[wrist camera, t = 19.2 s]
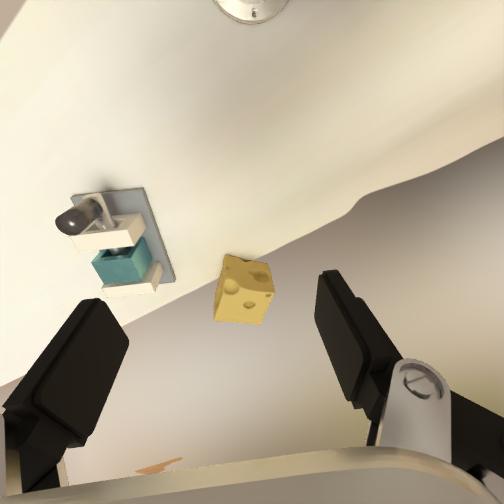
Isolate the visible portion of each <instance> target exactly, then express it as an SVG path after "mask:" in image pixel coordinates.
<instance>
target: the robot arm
mask: <svg viewBox="0 0 504 504" xmlns="http://www.w3.org/2000/svg"><path fill="white" fill-rule="evenodd" d="M213 1H214V2H215V4H216V5H217V6H218V7H219V8H220V10H222V11H223V12H224V13H225V14H226V15H227V16H229V17H230V18H232V19H234V20H236V21H238V22H241V23H246V24H258V23H261V22H264V21H267V20H269V19H270V18H272V17H274V16H275V15H276V14H277V13H278V12H279V11H280V10H281V9H283V7H284V6H285V4H286V3H287V2H288V0H213ZM252 13H255V14H256V17H253V16H252ZM314 318H315V322H316V325H317V328H318V330H319V333H320V335H321V337H322V340H323V343H324V345H325V348H326V350H327V353H328V356H329V358H330V361H331V363H332V366H333V368H334V371H335V373H336V375H337V378H338V381H339V383H340V386H341V388H342V391H343V393H344V396H345V398H346V400H347V401H351V402H352V404H353V407H354V409H361V408H363V409H364V412H365V414H366V416H367V418H368V419H369V420H370V421H369V426H368V430H367V434H366V438H365V443H364V447H349V448H341V449H333V450H324V451H315V452H306V453H298V454H291V455H284V456H277V457H270V458H262V459H255V460H247V461H241V462H233V463H226V464H219V465H211V466H205V467H197V468H190V469H183V470H176V471H169V472H162V473H155V474H148V475H141V476H134V477H128V478H120V479H113V480H106V481H100V482H93V483H86V484H79V485H73V486H69V482H68V477H67V473H66V468H65V463H64V458H63V455H64V452H65V450H66V448H76V447H83V446H84V445H85V443H86V441H87V438H88V436H90V435H91V434H92V433H93V431H94V429H95V427H96V424H97V422H98V419H99V417H100V414H101V412H102V409H103V407H104V405H105V402H106V400H107V397H108V395H109V393H110V390H111V388H112V385H113V383H114V380H115V378H116V376H117V373H118V370H119V368H120V366H121V363H122V361H123V358H124V356H125V354H126V351H127V349H128V346H129V339H128V337H127V336H126V334H125V333H124V331H123V329H122V328H121V326H120V325H119V323H118V321H117V320H116V318H115V317H114V315H113V314H112V312H111V310H110V309H109V307H108V306H107V304H106V303H105V302H104V301H102V300H101V299H99V298H94V299H85V300H82V301H81V302H80V303H79V304H78V305H77V307H76V308H75V309H74V311H73V312H72V313H71V315H70V316H69V317H68V319H67V320H66V321H65V323H64V324H63V325H62V327H61V328H60V329H59V331H58V332H57V333H56V335H55V336H54V338H53V339H52V340H51V342H50V343H49V344H48V346H47V347H46V348H45V350H44V351H43V352H42V354H41V355H40V356H39V358H38V359H37V360H36V362H35V363H34V364H33V366H32V367H31V368H30V370H29V371H28V372H27V374H26V375H25V377H24V378H23V379H22V381H21V382H20V383H19V385H18V386H17V387H16V389H15V390H14V391H13V392H12V394H11V395H10V396H9V398H8V399H7V401H6V402H5V403H4V404H3V406H2V407H4V408H5V409H6V410H5V412H4V413H3V414H2V415H1V414H0V504H504V418H503V417H501V416H499V415H497V414H495V413H493V412H491V411H489V410H488V409H486V408H484V407H482V406H480V405H478V404H476V403H474V402H472V401H470V400H468V399H466V398H464V397H463V396H461V395H459V394H457V393H455V392H453V391H451V390H450V388H449V386H448V384H447V382H446V380H445V379H444V378H443V377H442V376H441V374H440V373H439V372H438V371H436V370H435V369H434V368H433V367H431V366H430V365H428V364H426V363H424V362H422V361H419V360H416V359H409V358H407V359H403V357H402V356H401V354H400V353H399V352H398V350H397V349H396V347H395V346H394V344H393V343H392V341H391V340H390V338H389V337H388V335H387V334H386V333H385V331H384V330H383V328H382V327H381V325H380V324H379V322H378V321H377V319H376V318H375V316H374V315H373V314H372V312H371V311H370V309H369V308H368V306H367V305H366V303H365V302H364V301H363V299H361V298H359V297H355V295H354V294H353V293H352V291H351V289H350V288H349V286H348V285H347V283H346V282H345V281H344V279H343V277H342V276H341V274H340V273H339V271H338V270H328V271H323V273H322V275H319V278H318V287H317V296H316V305H315V314H314Z"/></svg>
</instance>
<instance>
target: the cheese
mask: <svg viewBox="0 0 504 504" xmlns="http://www.w3.org/2000/svg"><path fill="white" fill-rule="evenodd" d="M274 294H275V290H274V285H273V281H272V276H271V272H270V269H269V266H268V265H267V263H261V262H256V261H248V262H244V261H242V259H241V258H237V257H233V256H230V255H225V257H224V261H223V268H222V271H221V275H220V278H219V282H218V285H217V289H216V293H215V300H214V321H223V322H226V321H227V322H241V323H249V324H256V325H260V324H261V322H262V320H263V317H264V315H265V312H266V310H267V308H268V305H269V303H270V301H271V300H272V298H273V296H274Z"/></svg>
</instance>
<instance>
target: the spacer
mask: <svg viewBox="0 0 504 504" xmlns="http://www.w3.org/2000/svg"><path fill="white" fill-rule="evenodd" d="M126 249H127V251H128V255H121V256H112V254H111V252H110V250H109V249H102V250H101V251H100V253H99V254H98V255H97V256H96V257H95V258H94V260H93V261H92V262H91V263H92V265H93V266H94V268H95V270H96V271H97V273H98V275H99V276H100V278H101V280H102V281H103V283H104V285H107V284H116V283H124V282H133V281H141V280H142V279H143V277H144V275H145V273H146V271H147V269H148V267H149V265H150V262H151V260H152V255H151V253H150V250H149V248H148V245H147V243H146V240H145V238H144V237H140V238H139V239H138V241H137V242H136V244H135V245H134V246H129V247H126Z"/></svg>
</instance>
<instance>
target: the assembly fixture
mask: <svg viewBox="0 0 504 504" xmlns="http://www.w3.org/2000/svg"><path fill="white" fill-rule="evenodd" d="M99 193H101V195H102V198H103V200H104V202H105V204H106V206H107V208H108V210H109V212H110V215H111V217H112V219H113V221H114V223H115V225H116V227H117V228H114V229H105V230H99V229H98V227H97V225H96V223H95V221H94V222H93V223H91V224H90V225H89V226H88V227H87V228H86V229H85V230H83V231H82V232H81V233H80V234H79V235H76V236H70V235H69V238H70V239H71V241H72V243H73V244H74V246H75V247H76V249H77V251H78V252H85V251H93V250H99V251H101V250H102V249H111V248H120V247H129V246H134V245H135V244H136V242H137V241H138V239H139V238H140V237H144V238H145V240H146V243H147V245H148V248H149V250H150V253H151V255H152V260H151V262H150V265H149V267H148V269H147V271H146V273H145V275H144V277H143V279H142V280H141V281H133V282H124V283H116V284H107V285H103V286H102V288H101V289H102V291H103V293H104V294H105V296H106V297H107V298H112V297H121V296H129V295H137V294H146V293H154V292H155V291H156V288H157V286H158V284H164V283H173V282H175V280H176V278H175V275H174V272H173V269H172V267H171V264H170V261H169V258H168V255H167V252H166V250H165V247H164V244H163V241H162V238H161V236H160V233H159V230H158V227H157V224H156V222H155V219H154V216H153V213H152V210H151V208H150V205H149V202H148V199H147V196H146V193H145V191H144V188H136V189H127V190H118V191H108V192H99ZM90 194H91V193H90ZM85 195H88V194H80V195H73V196H72V197H70V199H71V200H72V202H73V204H74V206H75V205H76V204H78V203H79V202H81V201H82V200H83V198H82V197H83V196H85Z"/></svg>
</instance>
